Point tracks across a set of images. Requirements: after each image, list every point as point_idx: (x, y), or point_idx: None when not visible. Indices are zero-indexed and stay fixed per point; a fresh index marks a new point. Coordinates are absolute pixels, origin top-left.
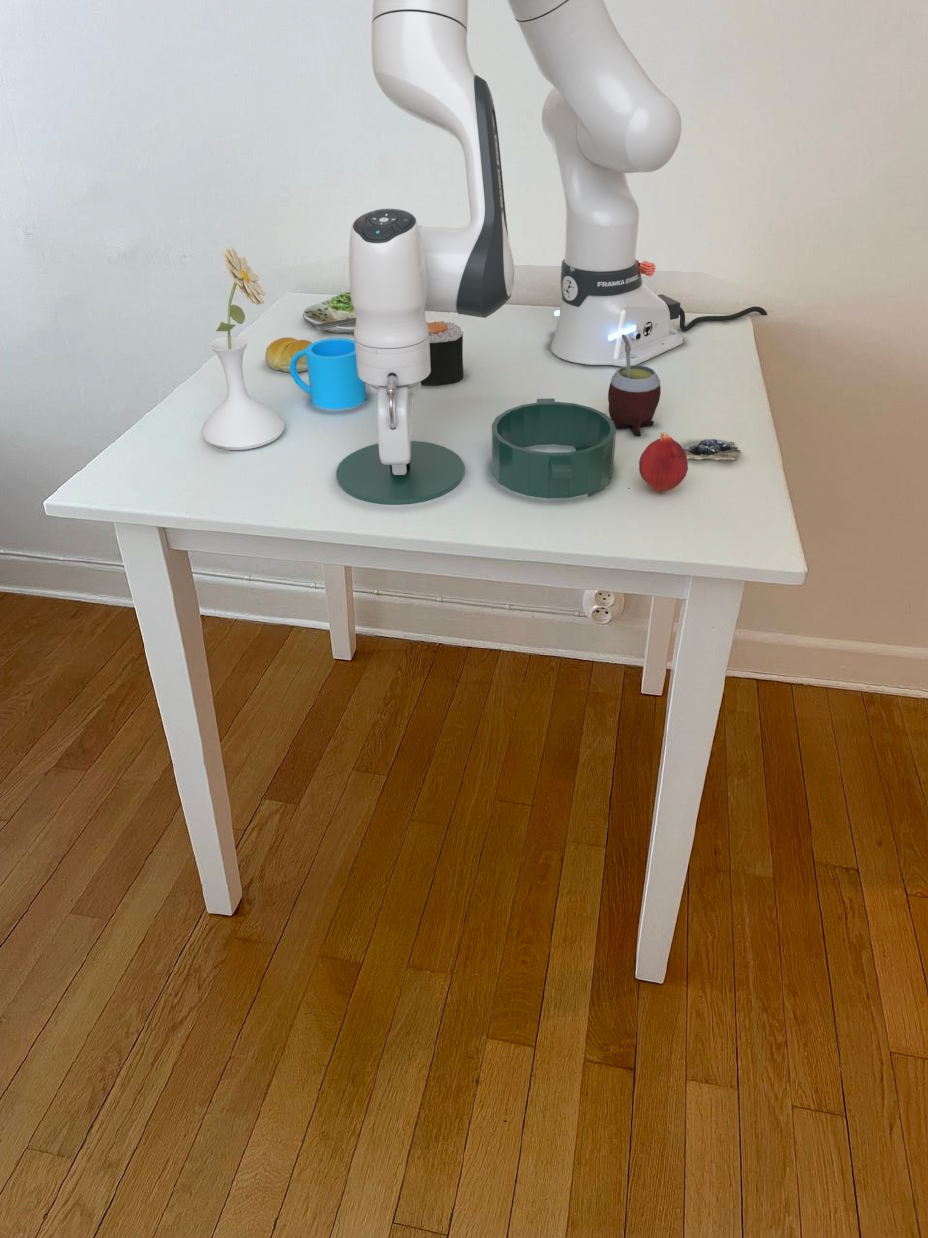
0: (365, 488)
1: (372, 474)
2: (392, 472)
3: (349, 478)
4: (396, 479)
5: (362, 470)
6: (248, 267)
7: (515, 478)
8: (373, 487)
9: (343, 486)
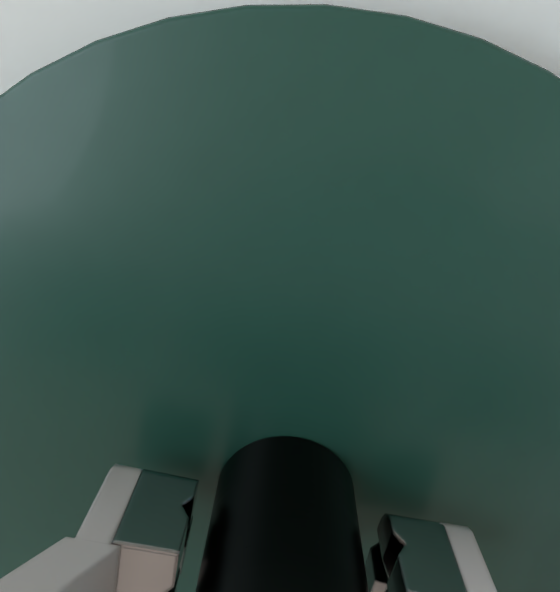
0: (26, 231)
1: (250, 313)
2: (113, 467)
3: (219, 124)
4: (141, 446)
5: (336, 251)
6: None
7: None
8: (39, 290)
9: (83, 49)
